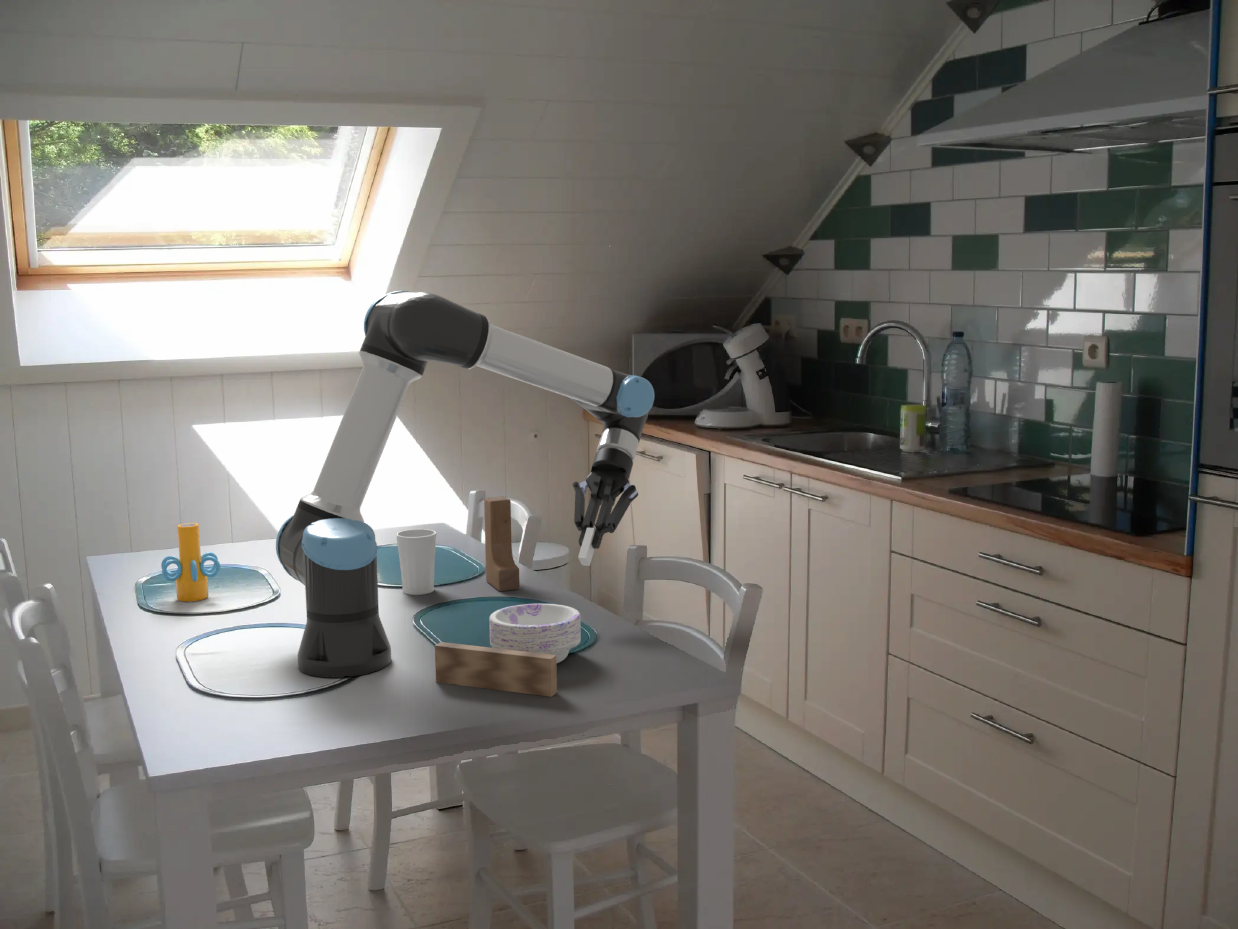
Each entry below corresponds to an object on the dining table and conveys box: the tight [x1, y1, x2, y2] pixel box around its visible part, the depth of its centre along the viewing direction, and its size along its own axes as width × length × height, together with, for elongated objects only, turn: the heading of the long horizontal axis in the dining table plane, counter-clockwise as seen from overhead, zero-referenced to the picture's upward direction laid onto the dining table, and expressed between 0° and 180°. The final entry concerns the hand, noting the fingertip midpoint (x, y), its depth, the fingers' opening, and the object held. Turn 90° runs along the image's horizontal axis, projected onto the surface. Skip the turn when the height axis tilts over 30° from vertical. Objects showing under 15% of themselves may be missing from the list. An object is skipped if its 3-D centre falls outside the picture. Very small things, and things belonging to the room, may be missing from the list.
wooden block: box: [483, 495, 520, 592], centre depth 246 cm, size 9×4×18 cm, turn 24°
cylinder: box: [160, 522, 221, 603], centre depth 239 cm, size 12×10×15 cm
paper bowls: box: [488, 603, 582, 665], centre depth 200 cm, size 15×15×8 cm
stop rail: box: [434, 641, 558, 698], centre depth 186 cm, size 20×2×6 cm, turn 69°
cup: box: [396, 528, 437, 596], centre depth 243 cm, size 8×8×12 cm
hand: (583, 561), depth 218 cm, fingers closed
